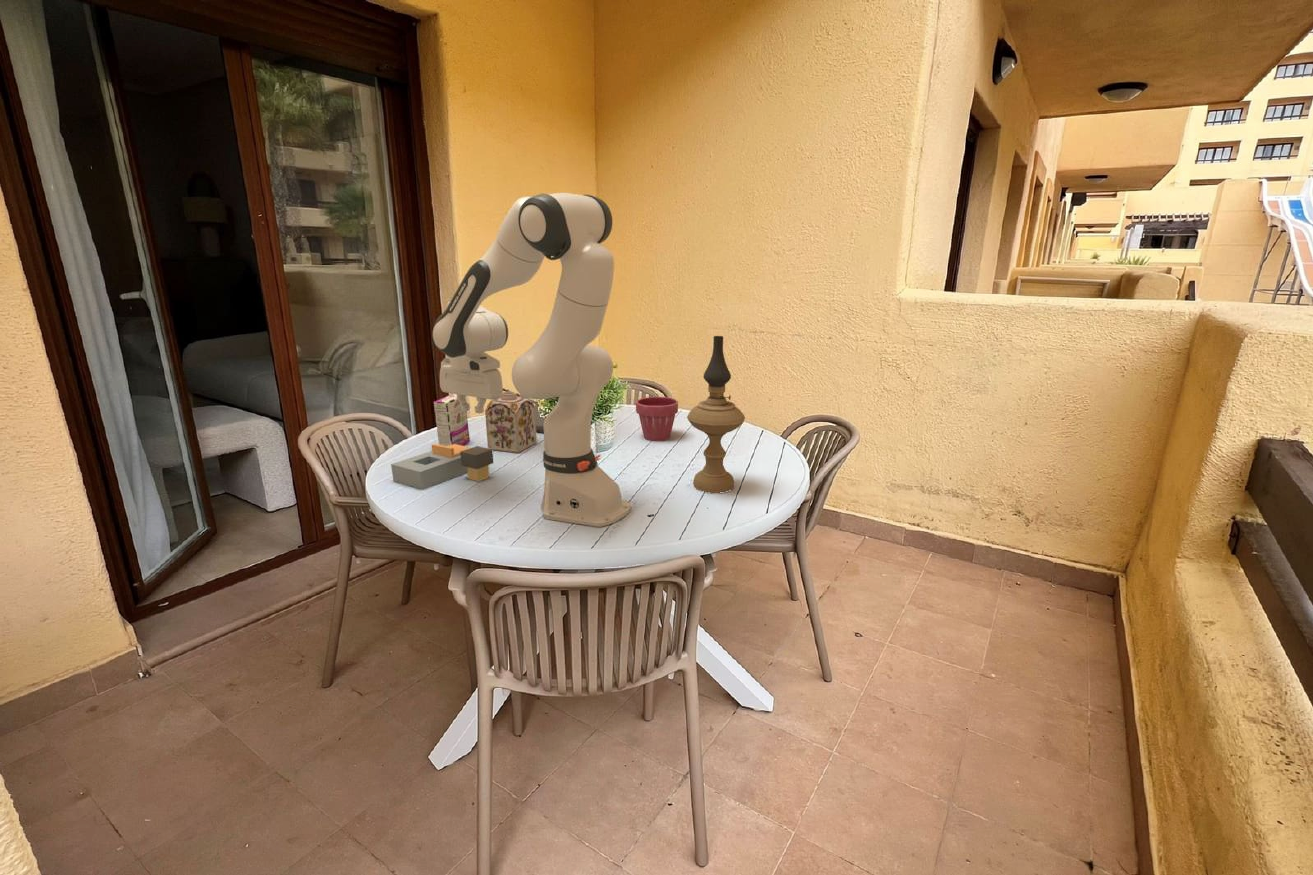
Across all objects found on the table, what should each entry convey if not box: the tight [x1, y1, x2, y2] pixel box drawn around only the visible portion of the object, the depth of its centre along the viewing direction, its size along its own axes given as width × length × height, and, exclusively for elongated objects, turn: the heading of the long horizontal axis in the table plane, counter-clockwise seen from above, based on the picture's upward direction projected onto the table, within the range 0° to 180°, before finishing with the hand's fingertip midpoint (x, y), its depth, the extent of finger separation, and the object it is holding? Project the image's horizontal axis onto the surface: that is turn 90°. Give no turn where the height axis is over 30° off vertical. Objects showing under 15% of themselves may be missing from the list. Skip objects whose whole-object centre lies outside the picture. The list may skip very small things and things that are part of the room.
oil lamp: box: [686, 335, 746, 494], centre depth 151 cm, size 15×15×40 cm
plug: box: [460, 445, 494, 482], centre depth 161 cm, size 6×6×8 cm
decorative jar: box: [484, 391, 538, 454], centre depth 187 cm, size 12×12×18 cm
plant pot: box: [635, 396, 679, 442], centre depth 198 cm, size 14×14×13 cm
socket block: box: [390, 445, 468, 491], centre depth 164 cm, size 12×20×5 cm, turn 150°
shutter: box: [431, 443, 471, 458], centre depth 168 cm, size 8×8×3 cm
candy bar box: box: [433, 393, 471, 446], centre depth 187 cm, size 11×5×16 cm, turn 168°
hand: (472, 411), depth 157 cm, fingers open, 4 cm apart
